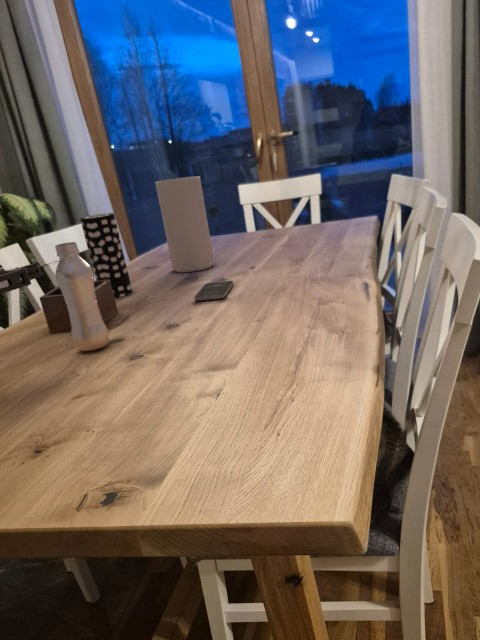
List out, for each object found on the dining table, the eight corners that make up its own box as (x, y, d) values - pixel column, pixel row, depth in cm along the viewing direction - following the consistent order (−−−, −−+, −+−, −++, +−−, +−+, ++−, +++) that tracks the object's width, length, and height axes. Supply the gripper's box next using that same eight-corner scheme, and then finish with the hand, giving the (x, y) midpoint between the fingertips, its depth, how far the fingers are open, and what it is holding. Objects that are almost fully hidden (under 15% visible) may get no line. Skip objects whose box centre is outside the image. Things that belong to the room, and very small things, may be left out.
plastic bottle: (70, 351, 112) (39, 247, 104) (102, 340, 117) (75, 239, 108) (85, 357, 108) (54, 249, 100) (117, 346, 112) (91, 241, 104)
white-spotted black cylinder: (125, 288, 158) (106, 212, 150) (137, 292, 152) (119, 213, 143) (95, 295, 154) (75, 218, 145) (107, 300, 148) (86, 219, 139)
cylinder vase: (202, 261, 181) (187, 176, 171) (222, 265, 172) (207, 176, 161) (166, 270, 175) (148, 182, 164) (185, 275, 165) (167, 182, 155)
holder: (50, 333, 125) (39, 297, 122) (70, 317, 136) (61, 284, 132) (101, 328, 125) (91, 292, 121) (118, 313, 135) (109, 279, 132)
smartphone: (233, 280, 149) (224, 295, 135) (234, 283, 149) (225, 298, 135) (205, 283, 149) (193, 298, 136) (205, 286, 150) (193, 301, 136)
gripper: (-45, 269, 78) (45, 245, 91) (-112, 271, 84) (-18, 248, 97) (-26, 323, 81) (58, 291, 94) (-92, 321, 87) (-3, 292, 100)
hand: (20, 269), depth 96 cm, fingers open, 8 cm apart
